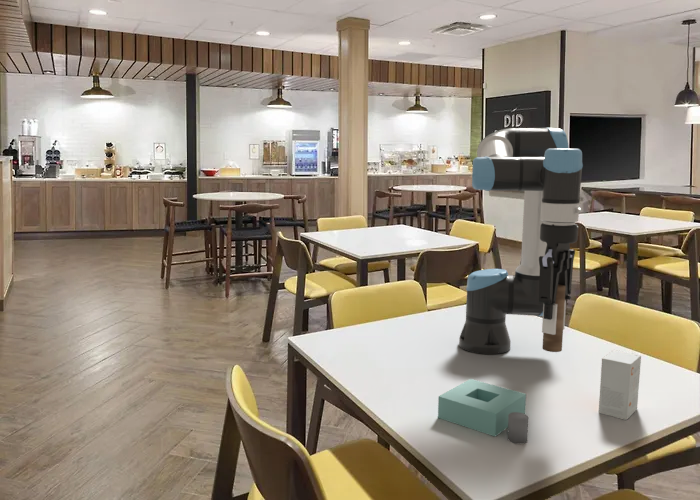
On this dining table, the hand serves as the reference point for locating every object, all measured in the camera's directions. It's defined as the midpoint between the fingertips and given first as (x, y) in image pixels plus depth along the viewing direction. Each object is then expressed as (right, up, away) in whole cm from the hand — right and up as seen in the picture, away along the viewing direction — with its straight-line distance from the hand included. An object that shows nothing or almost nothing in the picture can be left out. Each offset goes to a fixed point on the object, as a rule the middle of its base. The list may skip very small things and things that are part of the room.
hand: (553, 330), depth 134 cm
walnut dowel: (0, -4, +1) cm, 4 cm away
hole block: (-14, -20, +5) cm, 25 cm away
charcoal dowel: (-9, -22, -6) cm, 24 cm away
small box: (+17, -20, +8) cm, 27 cm away
